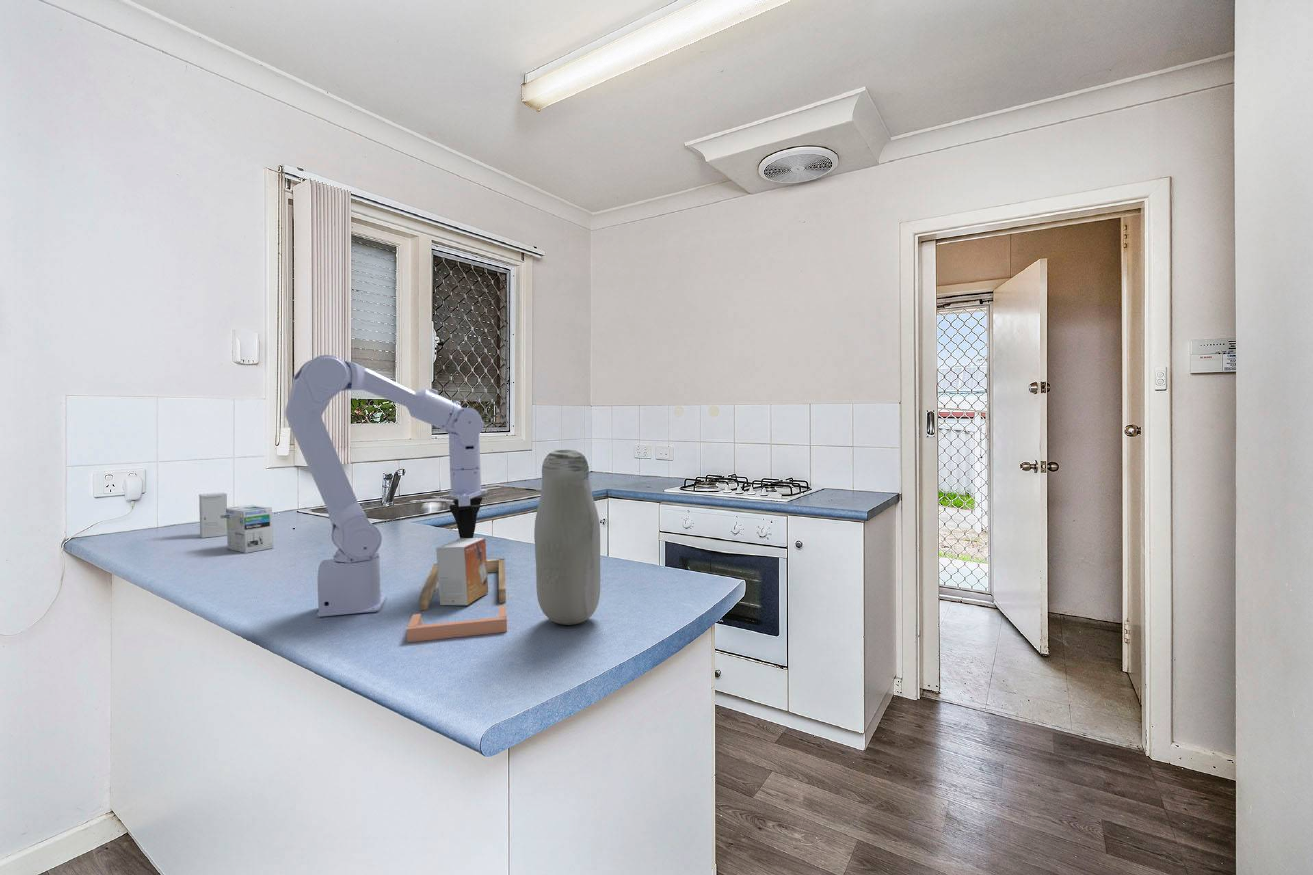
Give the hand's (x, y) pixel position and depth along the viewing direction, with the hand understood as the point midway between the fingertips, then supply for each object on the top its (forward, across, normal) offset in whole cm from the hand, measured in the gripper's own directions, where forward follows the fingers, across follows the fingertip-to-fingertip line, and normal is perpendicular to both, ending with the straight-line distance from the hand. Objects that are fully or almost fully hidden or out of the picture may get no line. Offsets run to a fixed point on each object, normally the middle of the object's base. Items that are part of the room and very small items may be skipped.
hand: (467, 536), depth 114 cm
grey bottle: (+10, -26, -17) cm, 32 cm away
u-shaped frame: (+10, -2, 0) cm, 10 cm away
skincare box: (+9, +73, +74) cm, 104 cm away
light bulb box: (+10, +51, +56) cm, 77 cm away
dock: (+10, -24, 0) cm, 26 cm away
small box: (+10, -9, 0) cm, 13 cm away
